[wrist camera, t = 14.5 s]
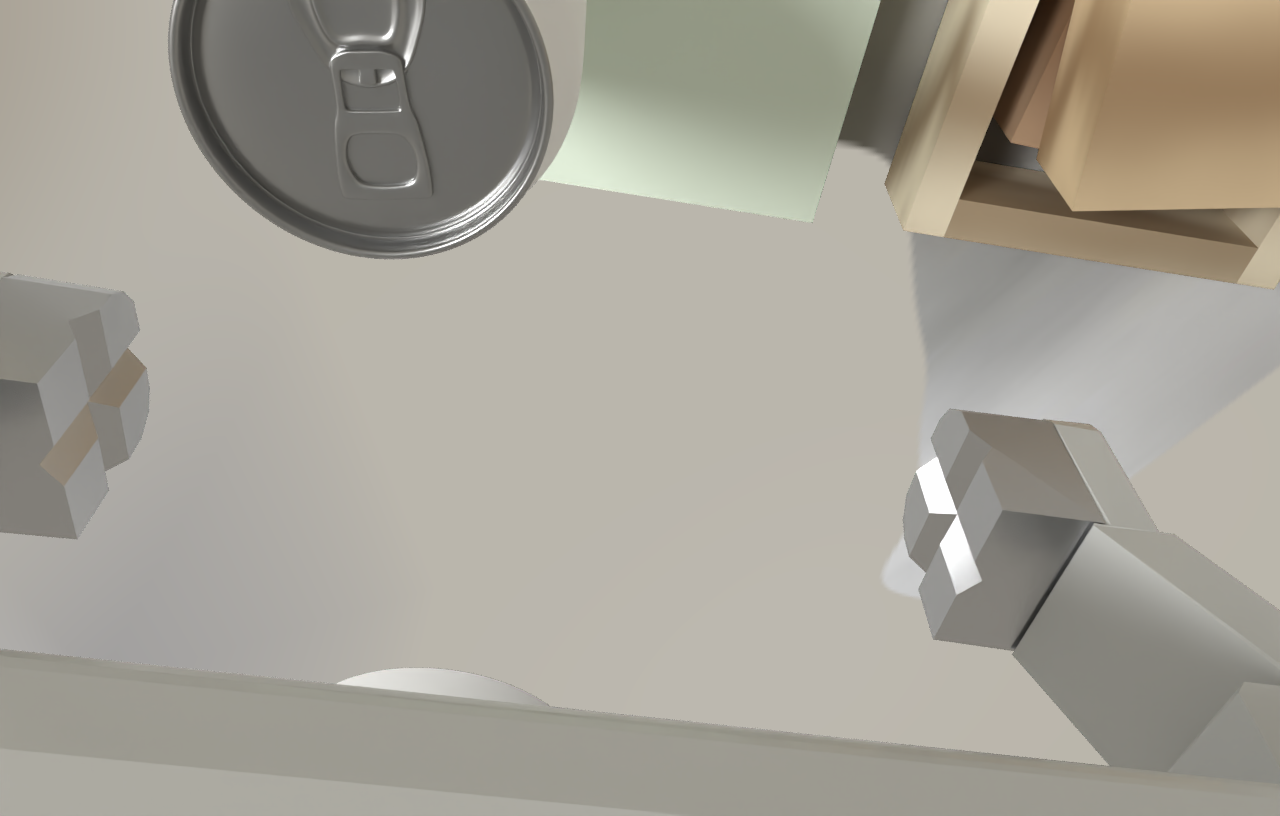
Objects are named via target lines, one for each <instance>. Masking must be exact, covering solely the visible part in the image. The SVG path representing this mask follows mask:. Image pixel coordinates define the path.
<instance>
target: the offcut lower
mask: <svg viewBox="0 0 1280 816" xmlns="http://www.w3.org/2000/svg"><path fill="white" fill-rule="evenodd" d="M1074 3H1075V0H1039V3H1038V5H1037V8H1036V10H1035V13H1034V15H1033V17H1032V20H1031V22H1030V25H1029V27H1028V30H1027V32H1026V35H1025V37H1024V40H1023V42H1022V45H1021V47H1020V50H1019V52H1018V55H1017V57H1016V60H1015V62H1014V64H1013V67H1012V69H1011V72H1010V74H1009V77H1008V79H1007V82H1006V84H1005V87H1004V89H1003V92H1002V94H1001V97H1000V99H999V102H998V104H997V107H996V109H995V111H994V114H993V117H994V119H995V120H996V122H997V123H998V125H999V126H1000V128H1001V129H1002V131H1003V132H1004V134H1005V135H1006V137H1007V138H1008V139H1009V141H1010V142H1011V143H1015V144H1019V145H1024V146H1029V147H1033V148H1038V149H1039V146H1040V142H1041V138H1042V134H1043V130H1044V126H1045V122H1046V118H1047V114H1048V110H1049V106H1050V101H1051V97H1052V93H1053V89H1054V85H1055V81H1056V77H1057V73H1058V69H1059V65H1060V61H1061V56H1062V52H1063V48H1064V44H1065V40H1066V36H1067V32H1068V28H1069V24H1070V20H1071V16H1072V11H1073V7H1074Z"/></svg>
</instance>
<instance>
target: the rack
mask: <svg viewBox="0 0 1280 816" xmlns="http://www.w3.org/2000/svg"><path fill="white" fill-rule="evenodd" d="M1038 3H1039V0H948V3H947V6H946V9H945V12H944V15H943V17H942V20H941V23H940V26H939V29H938V32H937V35H936V38H935V40H934V43H933V46H932V49H931V52H930V55H929V58H928V60H927V63H926V66H925V69H924V72H923V75H922V78H921V81H920V83H919V86H918V89H917V92H916V95H915V98H914V101H913V103H912V106H911V109H910V112H909V115H908V118H907V121H906V124H905V126H904V129H903V132H902V135H901V138H900V141H899V144H898V146H897V149H896V152H895V155H894V158H893V161H892V164H891V167H890V169H889V172H888V175H887V178H886V181H885V186H886V188H887V191H888V194H889V196H890V198H891V201H892V203H893V206H894V208H895V211H896V213H897V216H898V218H899V221H900V223H901V226H902V228H903V230H904V231H908V232H915V233H921V234H927V235H934V236H940V237H946V238H953V239H959V240H965V241H971V242H978V243H984V244H990V245H997V246H1003V247H1009V248H1015V249H1022V250H1028V251H1034V252H1041V253H1047V254H1053V255H1059V256H1066V257H1072V258H1078V259H1085V260H1091V261H1097V262H1103V263H1110V264H1116V265H1122V266H1129V267H1135V268H1141V269H1147V270H1154V271H1160V272H1166V273H1173V274H1179V275H1185V276H1191V277H1198V278H1204V279H1210V280H1217V281H1223V282H1229V283H1236V284H1242V285H1248V286H1254V287H1261V288H1267V289H1273V290H1274V289H1275V287H1276V286H1277V284H1278V283H1279V281H1280V208H1225V209H1170V210H1114V211H1072V210H1071V209H1070V207H1069V206H1068V204H1067V203H1066V201H1065V200H1064V198H1063V197H1062V196H1061V194H1060V193H1059V191H1058V190H1057V188H1056V187H1055V185H1054V184H1053V183H1052V181H1051V180H1050V178H1049V177H1048V175H1047V174H1046V172H1041V171H1035V170H1029V169H1023V168H1017V167H1011V166H1005V165H999V164H993V163H987V162H981V161H975V158H976V156H977V153H978V151H979V149H980V146H981V144H982V141H983V139H984V136H985V134H986V131H987V129H988V126H989V124H990V121H991V119H992V116H993V114H994V111H995V109H996V107H997V104H998V102H999V99H1000V97H1001V94H1002V92H1003V89H1004V87H1005V84H1006V82H1007V79H1008V77H1009V74H1010V72H1011V69H1012V67H1013V64H1014V62H1015V60H1016V57H1017V55H1018V52H1019V50H1020V47H1021V45H1022V42H1023V40H1024V37H1025V35H1026V32H1027V30H1028V27H1029V25H1030V22H1031V20H1032V17H1033V15H1034V13H1035V10H1036V8H1037V5H1038Z"/></svg>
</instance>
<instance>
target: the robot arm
mask: <svg viewBox="0 0 1280 816" xmlns="http://www.w3.org/2000/svg"><path fill="white" fill-rule="evenodd" d="M139 331H140V328H139V323H138V318H137V314H136V309H135V304H134V301H133V300H132V299H131V298H130V297H129V296H128V295H127V294H126V293H125V292H123V291H118V290H112V289H106V288H100V287H93V286H87V285H80V284H75V283H68V282H61V281H56V280H49V279H43V278H37V277H31V276H25V275H18V274H17V275H13V274H10V273H6V272H0V532H4V533H14V534H25V535H36V536H47V537H58V538H69V539H78V537H79V536H80V534H81V533H82V531H83V530H84V528H85V527H86V525H87V524H88V522H89V521H90V519H91V517H92V516H93V514H94V513H95V511H96V510H97V508H98V507H99V505H100V503H101V502H102V500H103V499H104V497H105V496H106V494H107V493H108V491H109V488H108V483H107V478H106V473H105V471H107V470H109V469H111V468H113V467H114V466H116V465H118V464H120V463H122V462H124V461H126V460H128V459H129V458H130V457H131V455H132V453H133V452H134V450H135V448H136V446H137V445H138V443H139V442H140V440H141V438H142V434H143V431H144V427H145V424H146V420H147V417H148V413H149V392H150V388H149V381H148V375H147V368H146V367H145V366H144V365H143V364H142V363H141V362H140V361H139V359H138V358H137V357H136V356H135V355H134V354H133V353H132V352H131V351H130V350H129V349H128V346H129V345H130V343H131V342H132V341H133V339H134V338H135V336H136V335H137V334H138V332H139ZM931 441H932V444H933V446H934V449H935V452H936V455H937V457H936V458H935V459H933V460H932V461H930V462H929V463H927V464H926V465H924V466H923V467H921V468H920V469H918V470H917V471H916V473H915V475H914V478H913V480H912V483H911V485H910V488H909V490H908V493H907V496H906V502H905V509H904V516H903V527H904V539H905V543H906V547H907V550H908V554H909V557H910V558H911V559H912V560H913V561H914V562H915V563H916V564H917V565H919V566H920V567H921V568H922V569H923V570H924V571H925V572H926V574H925V576H924V578H923V581H922V583H921V585H920V587H919V593H920V596H921V600H922V603H923V606H924V610H925V613H926V616H927V620H928V623H929V627H930V630H931V633H932V637H933V639H934V640H941V641H949V642H956V643H962V644H969V645H976V646H983V647H990V648H997V649H1004V650H1011V651H1014V652H1013V654H1012V655H1013V656H1014V657H1015V658H1016V659H1017V660H1018V662H1019V663H1020V664H1021V665H1022V666H1023V667H1024V668H1025V669H1026V671H1027V672H1028V673H1029V674H1030V675H1031V676H1032V678H1033V679H1034V680H1035V681H1036V682H1037V683H1038V684H1039V686H1040V687H1041V688H1042V689H1043V690H1044V691H1045V692H1046V694H1047V695H1048V696H1049V697H1050V698H1051V699H1052V700H1053V702H1054V703H1055V704H1056V705H1057V706H1058V707H1059V708H1060V710H1061V711H1062V712H1063V713H1064V714H1065V715H1066V716H1067V718H1068V719H1069V720H1070V721H1071V722H1072V723H1073V724H1074V725H1075V727H1076V728H1077V729H1078V730H1079V731H1080V732H1081V733H1082V735H1083V736H1084V737H1085V738H1086V739H1087V740H1088V742H1089V743H1090V744H1091V745H1092V746H1093V747H1094V748H1095V750H1096V751H1097V752H1098V753H1099V754H1100V755H1101V756H1102V757H1103V759H1104V760H1105V761H1106V762H1107V763H1108V764H1109V766H1104V765H1094V764H1085V763H1075V762H1065V761H1056V760H1047V759H1038V758H1028V757H1019V756H1010V755H1000V754H991V753H980V752H971V751H962V750H953V749H943V748H934V747H923V746H915V745H906V744H896V743H887V742H877V741H868V740H859V739H849V738H840V737H831V736H820V735H812V734H802V733H793V732H783V731H773V730H765V729H755V728H746V727H736V726H727V725H718V724H707V723H699V722H689V721H680V720H670V719H661V718H652V717H642V716H633V715H624V714H614V713H605V712H596V711H586V710H576V709H568V708H558V707H550V706H549V705H548V704H546V703H545V702H543V701H542V700H540V699H538V698H537V697H535V696H533V695H531V694H529V693H527V692H526V691H523V690H521V689H519V688H517V687H515V686H512V685H509V684H507V683H504V682H501V681H499V680H495V679H492V678H489V677H485V676H481V675H477V674H472V673H467V672H462V671H456V670H449V669H439V668H397V669H387V670H379V671H374V672H369V673H365V674H361V675H357V676H354V677H351V678H348V679H346V680H343V681H340V682H338V683H336V684H333V683H322V682H312V681H303V680H294V679H284V678H274V677H265V676H255V675H246V674H237V673H226V672H217V671H208V670H198V669H189V668H179V667H169V666H159V665H150V664H139V663H131V662H120V661H112V660H102V659H93V658H82V657H73V656H63V655H54V654H45V653H35V652H26V651H16V650H7V649H0V816H1280V610H1279V609H1277V608H1276V607H1274V606H1273V605H1272V604H1270V603H1269V602H1268V601H1266V600H1265V599H1263V598H1262V597H1261V596H1259V595H1258V594H1257V593H1255V592H1254V591H1252V590H1251V589H1250V588H1248V587H1247V586H1245V585H1244V584H1243V583H1241V582H1240V581H1238V580H1237V579H1236V578H1234V577H1233V576H1232V575H1230V574H1229V573H1227V572H1226V571H1225V570H1223V569H1222V568H1220V567H1219V566H1217V565H1216V564H1215V563H1213V562H1212V561H1211V560H1209V559H1208V558H1206V557H1205V556H1204V555H1202V554H1201V553H1200V552H1198V551H1197V550H1195V549H1194V548H1193V547H1191V546H1190V545H1188V544H1187V543H1186V542H1184V541H1183V540H1181V539H1180V538H1179V537H1177V536H1176V535H1175V534H1169V533H1163V532H1159V531H1158V529H1157V527H1156V525H1155V524H1154V522H1153V520H1152V519H1151V517H1150V515H1149V513H1148V512H1147V510H1146V508H1145V507H1144V505H1143V503H1142V502H1141V500H1140V498H1139V496H1138V495H1137V493H1136V491H1135V489H1134V488H1133V486H1132V484H1131V483H1130V481H1129V479H1128V477H1127V476H1126V474H1125V472H1124V471H1123V469H1122V467H1121V465H1120V464H1119V462H1118V460H1117V459H1116V457H1115V455H1114V453H1113V452H1112V450H1111V448H1110V447H1109V445H1108V443H1107V441H1106V440H1105V438H1104V436H1103V435H1102V433H1101V432H1100V431H1099V430H1098V429H1096V428H1095V427H1093V426H1092V425H1090V424H1082V423H1073V422H1064V421H1054V420H1045V419H1043V420H1036V419H1028V418H1020V417H1012V416H1004V415H996V414H989V413H981V412H973V411H965V410H957V409H949V410H948V411H947V412H946V413H945V414H944V415H943V417H942V418H941V419H940V420H939V422H938V424H937V427H936V429H935V431H934V433H933V435H932V437H931Z"/></svg>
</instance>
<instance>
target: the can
mask: <svg viewBox="0 0 1280 816" xmlns="http://www.w3.org/2000/svg"><path fill="white" fill-rule="evenodd" d="M586 4H587V0H174V1H173V5H172V10H171V15H170V22H169V32H168V53H169V65H170V72H171V78H172V82H173V87H174V91H175V94H176V98H177V101H178V104H179V107H180V110H181V113H182V115H183V117H184V120H185V122H186V124H187V126H188V129H189V131H190V133H191V135H192V136H193V138H194V140H195V142H196V144H197V145H198V147H199V149H200V150H201V152H202V153H203V155H204V156H205V158H206V159H207V161H208V162H209V163H210V165H211V166H212V167H213V169H214V170H215V171H216V173H217V174H218V175H219V176H220V177H221V179H222V180H223V181H224V182H225V183H226V184H227V185H228V186H229V187H230V188H231V189H232V190H233V191H234V192H235V193H236V194H237V195H238V196H239V197H240V198H241V199H242V200H243V201H244V202H245V203H247V204H248V205H249V206H250V207H252V208H253V209H254V210H255V211H256V212H258V213H259V214H260V215H262V216H263V217H265V218H266V219H268V220H269V221H270V222H272V223H273V224H275V225H277V226H278V227H280V228H282V229H283V230H285V231H287V232H289V233H291V234H293V235H295V236H297V237H299V238H301V239H303V240H305V241H308V242H310V243H313V244H315V245H317V246H320V247H323V248H326V249H329V250H332V251H336V252H340V253H344V254H348V255H353V256H359V257H365V258H374V259H408V258H417V257H423V256H428V255H433V254H437V253H441V252H444V251H447V250H450V249H453V248H456V247H458V246H461V245H463V244H465V243H467V242H469V241H471V240H473V239H475V238H477V237H478V236H480V235H482V234H483V233H485V232H486V231H488V230H489V229H491V228H492V227H493V226H495V225H496V224H497V223H499V222H500V221H501V220H502V219H503V218H504V217H505V216H506V215H507V214H509V213H510V211H511V210H512V209H513V208H514V207H515V206H516V205H517V204H518V203H519V201H520V200H521V199H522V198H523V196H524V195H525V193H526V192H527V191H528V190H529V189H530V188H531V187H532V186H533V185H534V184H535V183H536V182H537V181H538V180H539V179H540V178H541V176H542V175H543V174H544V173H545V171H546V170H547V169H548V167H549V166H550V165H551V163H552V162H553V160H554V158H555V157H556V155H557V154H558V152H559V150H560V148H561V146H562V144H563V142H564V140H565V138H566V135H567V133H568V130H569V128H570V125H571V122H572V119H573V116H574V113H575V110H576V106H577V102H578V97H579V92H580V85H581V78H582V70H583V58H584V44H585V25H586Z"/></svg>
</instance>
